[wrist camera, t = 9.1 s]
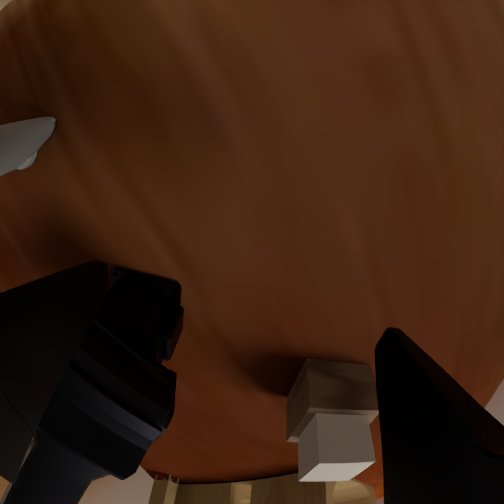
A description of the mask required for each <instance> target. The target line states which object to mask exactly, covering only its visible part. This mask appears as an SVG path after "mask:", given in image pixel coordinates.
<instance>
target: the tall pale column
mask: <svg viewBox="0 0 504 504" xmlns="http://www.w3.org/2000/svg"><path fill="white" fill-rule="evenodd" d="M55 128H56V119H55V118H54V117H40V118H34V119H29V120H23V121H18V122H14V123H9V124H4V125H0V176H2V175H4V174H5V173H8V172H10V171H12V170H15V169H21V170H22V169H24V168H27V167H29V166H31V165H32V163H33V162H34V160H35V158H36V155H37V151H38V150H39V149H40V148H41V147H42V145H43V144H44V143H45V142H46V141H47V140H48V139H49V138H50V137H51V136H52V135H53V132H54V130H55Z"/></svg>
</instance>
